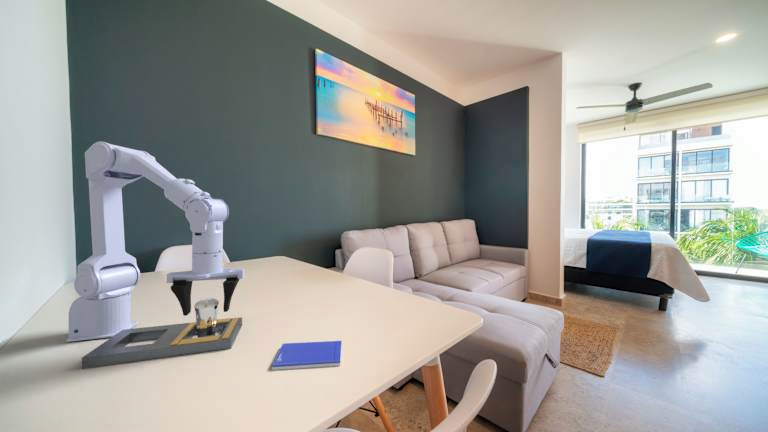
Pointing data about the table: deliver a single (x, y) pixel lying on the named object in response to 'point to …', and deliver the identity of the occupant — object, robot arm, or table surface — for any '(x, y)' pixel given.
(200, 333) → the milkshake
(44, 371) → the table surface
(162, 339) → the grey slotted plate
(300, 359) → the hard drive
